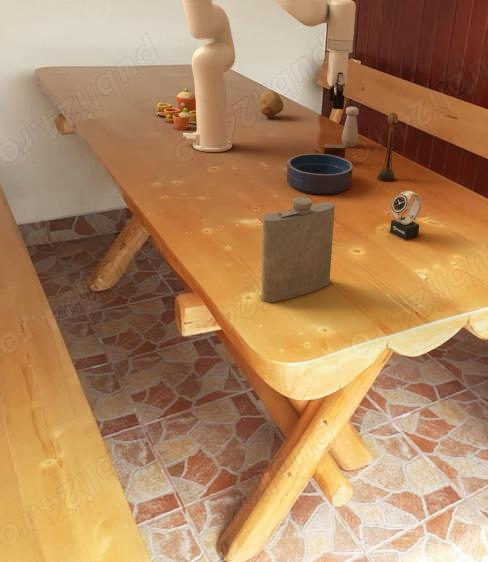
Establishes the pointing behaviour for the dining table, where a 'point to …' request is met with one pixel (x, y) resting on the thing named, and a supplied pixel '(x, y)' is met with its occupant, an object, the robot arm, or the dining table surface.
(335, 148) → the eraser
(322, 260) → the hip flask
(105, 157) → the dining table surface
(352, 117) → the salt shaker
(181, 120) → the toy tea set
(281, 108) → the natural sponge
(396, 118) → the wooden tabletop sculpture
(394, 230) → the watch
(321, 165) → the bowl
